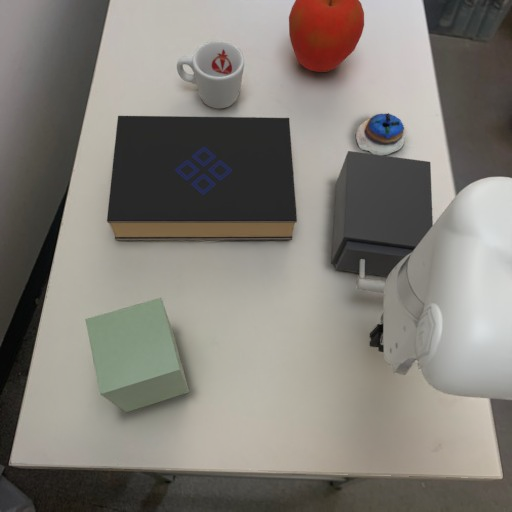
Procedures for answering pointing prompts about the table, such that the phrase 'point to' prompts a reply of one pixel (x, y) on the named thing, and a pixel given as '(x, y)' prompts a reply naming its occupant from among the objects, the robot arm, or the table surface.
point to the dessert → (381, 134)
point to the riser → (136, 356)
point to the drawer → (370, 262)
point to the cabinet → (381, 202)
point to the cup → (215, 72)
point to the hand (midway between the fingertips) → (382, 341)
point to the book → (202, 179)
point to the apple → (325, 31)
